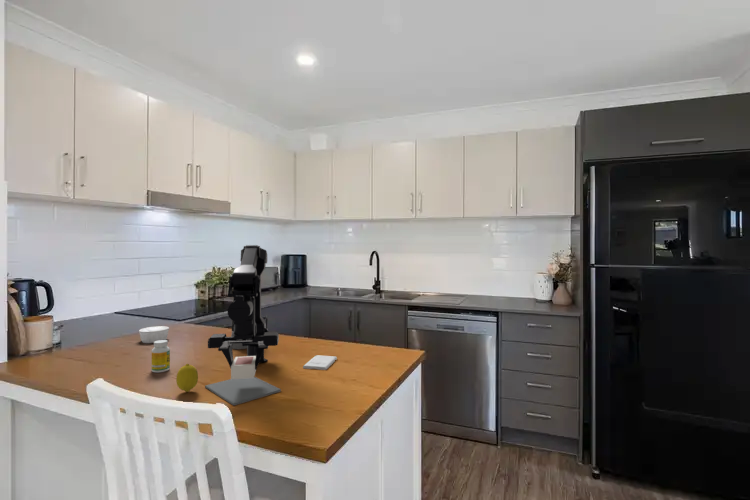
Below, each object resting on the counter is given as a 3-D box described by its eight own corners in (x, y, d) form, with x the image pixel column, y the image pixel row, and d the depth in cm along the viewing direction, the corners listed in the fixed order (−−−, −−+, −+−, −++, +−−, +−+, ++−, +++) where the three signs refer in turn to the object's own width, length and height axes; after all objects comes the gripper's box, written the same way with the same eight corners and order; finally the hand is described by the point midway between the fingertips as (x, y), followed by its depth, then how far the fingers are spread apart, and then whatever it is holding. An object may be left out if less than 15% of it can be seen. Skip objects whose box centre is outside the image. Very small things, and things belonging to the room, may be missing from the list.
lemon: (181, 388, 112) (181, 361, 112) (200, 388, 113) (201, 360, 113) (172, 396, 107) (172, 367, 107) (193, 395, 107) (193, 366, 107)
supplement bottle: (152, 369, 130) (152, 340, 130) (170, 366, 132) (170, 338, 132) (150, 373, 125) (150, 344, 125) (169, 371, 127) (169, 342, 127)
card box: (231, 379, 106) (231, 365, 106) (235, 368, 115) (235, 356, 115) (253, 377, 108) (254, 364, 108) (256, 367, 116) (256, 355, 116)
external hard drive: (336, 360, 142) (326, 371, 130) (315, 359, 144) (302, 369, 132) (336, 356, 142) (326, 366, 130) (315, 355, 144) (302, 365, 132)
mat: (205, 387, 113) (205, 385, 113) (249, 376, 123) (249, 374, 123) (233, 405, 101) (233, 403, 101) (280, 391, 111) (280, 389, 111)
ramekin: (132, 343, 163) (132, 330, 163) (152, 337, 174) (152, 325, 174) (156, 344, 162) (156, 332, 161) (174, 338, 173) (174, 326, 172)
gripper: (279, 309, 121) (279, 359, 121) (216, 311, 117) (215, 362, 118) (277, 316, 110) (277, 371, 110) (207, 318, 106) (207, 375, 107)
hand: (244, 369), depth 111 cm, fingers closed on card box, 6 cm apart
